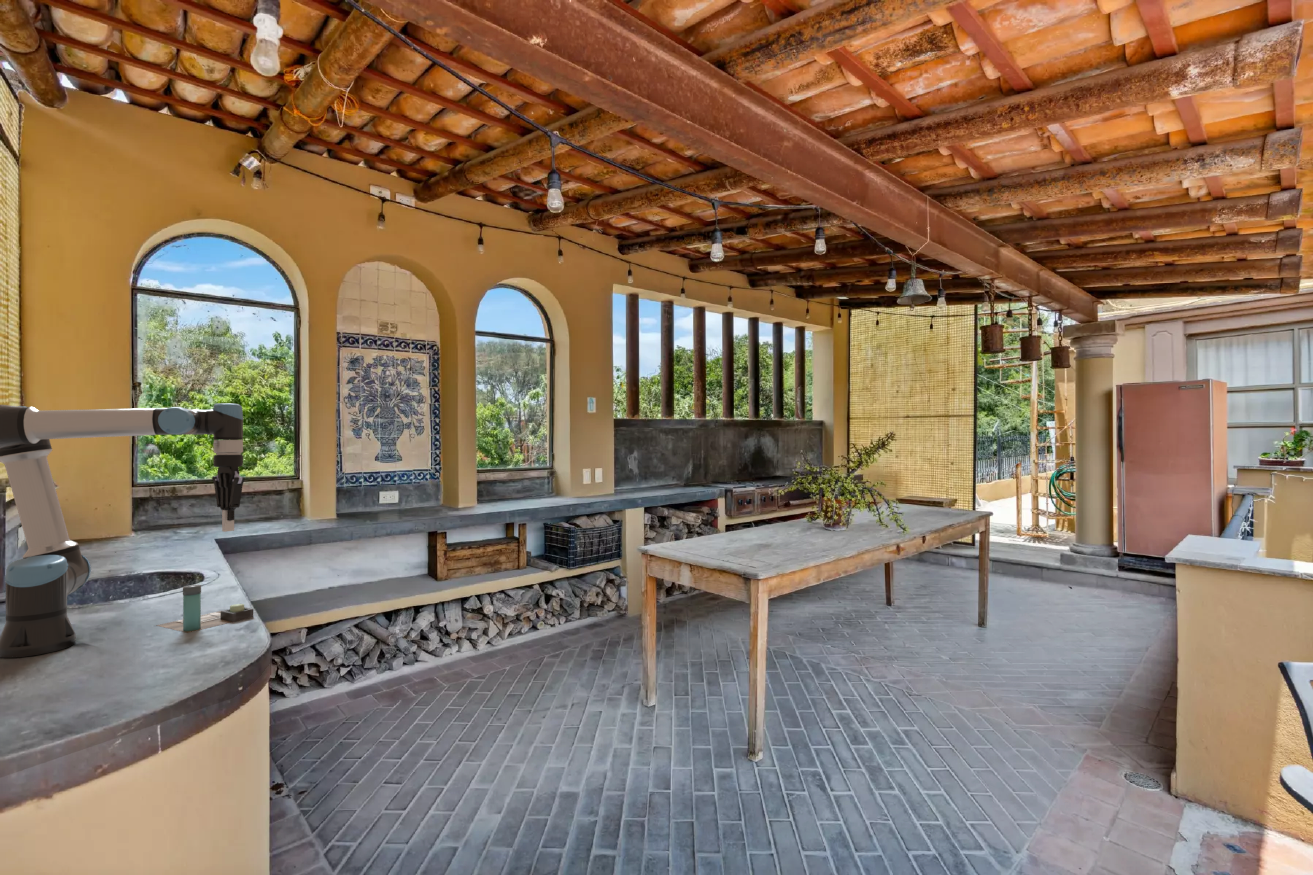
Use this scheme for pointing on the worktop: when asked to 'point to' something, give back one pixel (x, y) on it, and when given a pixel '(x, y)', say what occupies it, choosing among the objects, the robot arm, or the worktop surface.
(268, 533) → the worktop surface
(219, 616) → the clipboard
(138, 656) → the worktop surface
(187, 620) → the marker
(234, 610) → the button
